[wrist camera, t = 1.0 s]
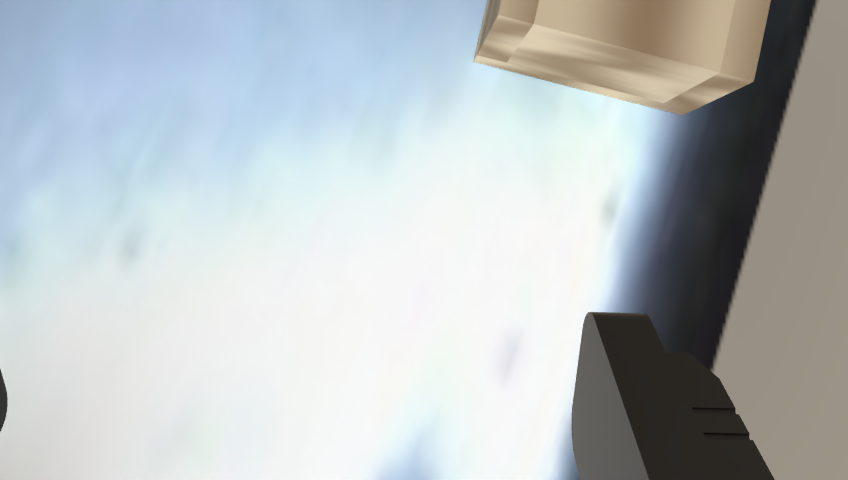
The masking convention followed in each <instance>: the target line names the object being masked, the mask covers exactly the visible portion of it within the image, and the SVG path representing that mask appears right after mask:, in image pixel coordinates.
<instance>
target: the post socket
mask: <svg viewBox="0 0 848 480" xmlns="http://www.w3.org/2000/svg"><path fill="white" fill-rule="evenodd" d="M770 2H771V0H488V1H487V5H486V9H485V14H484V18H483V22H482V27H481V31H480V35H479V39H478V44H477V48H476V52H475V57H474V61H473V62H476V63H480V64H484V65H488V66H492V67H496V68H500V69H504V70H508V71H512V72H516V73H519V74H523V75H527V76H531V77H535V78H539V79H543V80H547V81H551V82H555V83H559V84H562V85H566V86H570V87H574V88H578V89H582V90H586V91H590V92H594V93H598V94H602V95H605V96H609V97H613V98H617V99H621V100H625V101H629V102H633V103H637V104H641V105H644V106H648V107H652V108H656V109H660V110H664V111H668V112H672V113H676V114H680V115H684V114H686V113H688V112H691V111H693V110H695V109H697V108H699V107H701V106H703V105H705V104H707V103H709V102H712V101H714V100H716V99H718V98H720V97H722V96H724V95H726V94H728V93H731V92H733V91H735V90H737V89H739V88H741V87H743V86H745V85H747V84H750V83H752V82H754V78H755V73H756V68H757V63H758V59H759V54H760V49H761V45H762V40H763V35H764V30H765V26H766V21H767V16H768V11H769V7H770Z"/></svg>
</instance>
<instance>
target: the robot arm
mask: <svg viewBox="0 0 848 480" xmlns="http://www.w3.org/2000/svg"><path fill="white" fill-rule="evenodd" d="M6 412H7V391H6V387H5V384H4V380H3V377H2V373H1V370H0V431H1V429H2V427H3V424H4V421H5V417H6ZM572 442H573V451H574V456H575V461H576V465H577V470H578V474H579V478H580V480H774V478H773V476H772V474H771V472H770V471H769V469H768V467H767V465H766V463H765V461H764V460H763V458H762V456H761V454H760V452H759V450H758V449H757V447H756V445H755V443H754V441H753V440H750V439H749V432H748V430H747V429H746V427H745V425H744V423H743V422H742V419H741V418H740V416H739V415H738V414H736V413H735V407H734V405H733V403H732V401H731V400H730V398H729V396H728V394H727V392H726V390H725V389H724V387H723V385H722V383H721V381H720V379H719V378H718V377H717V376H715V375H714V374H713V373H712V372H711V371H710V370H708V369H707V368H706V367H705V366H704V365H702V364H701V363H700V362H699V361H698V360H696V359H695V358H694V357H693V356H692V355H691V354H689V353H667V352H665V350H664V347H663V345H662V343H661V341H660V339H659V337H658V335H657V332H656V330H655V328H654V326H653V324H652V322H651V320H650V318H649V316H648V315H647V314H645V313H606V312H588V313H587V315H586V317H585V320H584V324H583V330H582V338H581V345H580V353H579V360H578V368H577V376H576V383H575V391H574V398H573V406H572Z"/></svg>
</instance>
